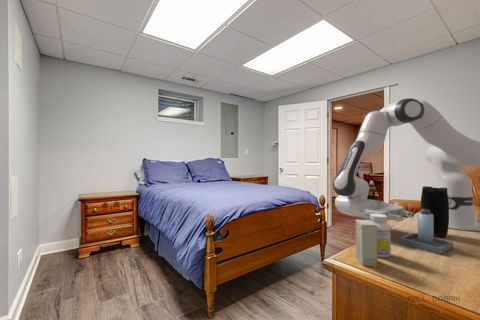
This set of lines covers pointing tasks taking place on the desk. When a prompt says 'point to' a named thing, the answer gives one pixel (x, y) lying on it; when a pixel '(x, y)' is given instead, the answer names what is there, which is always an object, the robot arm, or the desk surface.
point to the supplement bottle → (382, 235)
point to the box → (438, 247)
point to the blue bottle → (425, 227)
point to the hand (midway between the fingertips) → (407, 216)
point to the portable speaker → (437, 208)
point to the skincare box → (366, 242)
